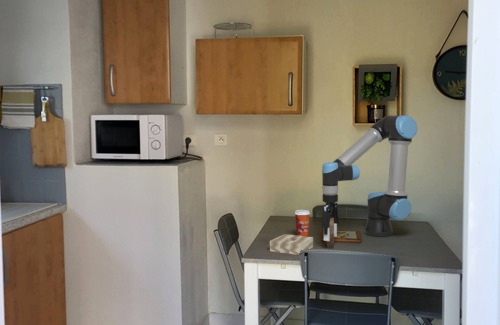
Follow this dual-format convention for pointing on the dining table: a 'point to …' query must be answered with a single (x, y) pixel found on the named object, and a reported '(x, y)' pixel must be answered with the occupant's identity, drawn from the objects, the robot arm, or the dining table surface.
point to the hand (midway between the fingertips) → (330, 238)
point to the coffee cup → (302, 222)
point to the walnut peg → (331, 234)
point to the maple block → (291, 244)
